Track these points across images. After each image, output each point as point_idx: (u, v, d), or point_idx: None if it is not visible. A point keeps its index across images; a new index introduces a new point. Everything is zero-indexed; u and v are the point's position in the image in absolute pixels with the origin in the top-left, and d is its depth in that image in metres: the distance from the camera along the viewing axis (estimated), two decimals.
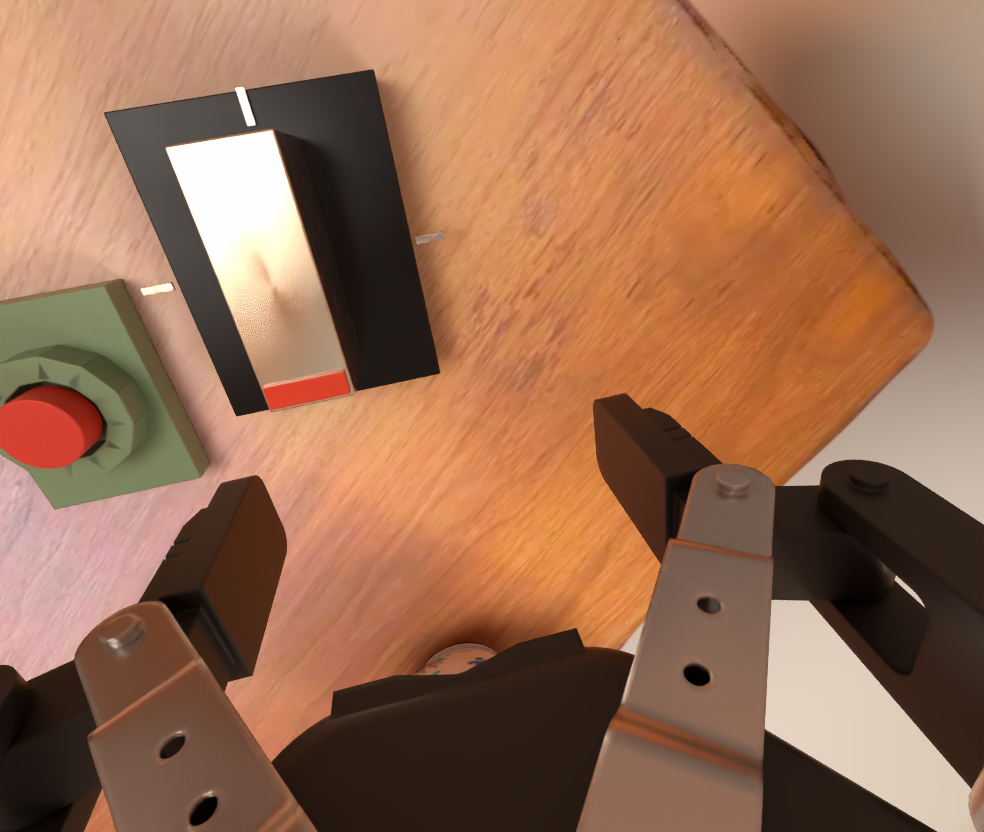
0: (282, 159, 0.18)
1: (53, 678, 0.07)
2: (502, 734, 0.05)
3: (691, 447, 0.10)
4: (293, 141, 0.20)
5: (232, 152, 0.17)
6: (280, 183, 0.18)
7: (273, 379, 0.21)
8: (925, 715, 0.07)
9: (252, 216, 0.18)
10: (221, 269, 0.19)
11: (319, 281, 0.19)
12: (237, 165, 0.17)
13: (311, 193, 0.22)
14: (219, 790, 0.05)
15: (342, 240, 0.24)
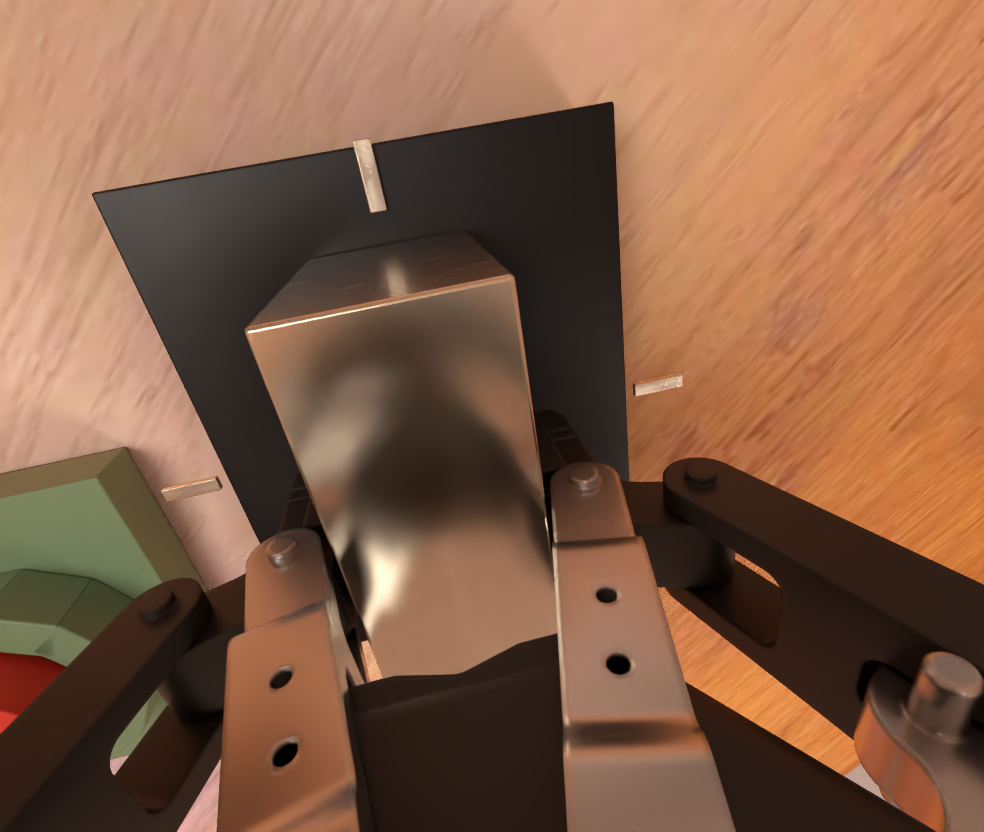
0: (522, 340, 0.07)
1: (220, 593, 0.09)
2: (502, 734, 0.05)
3: (573, 446, 0.11)
4: None
5: (410, 332, 0.07)
6: (509, 391, 0.07)
7: None
8: (793, 678, 0.07)
9: (436, 460, 0.08)
10: (354, 562, 0.08)
11: (551, 562, 0.09)
12: (418, 359, 0.07)
13: None
14: (301, 741, 0.05)
15: None
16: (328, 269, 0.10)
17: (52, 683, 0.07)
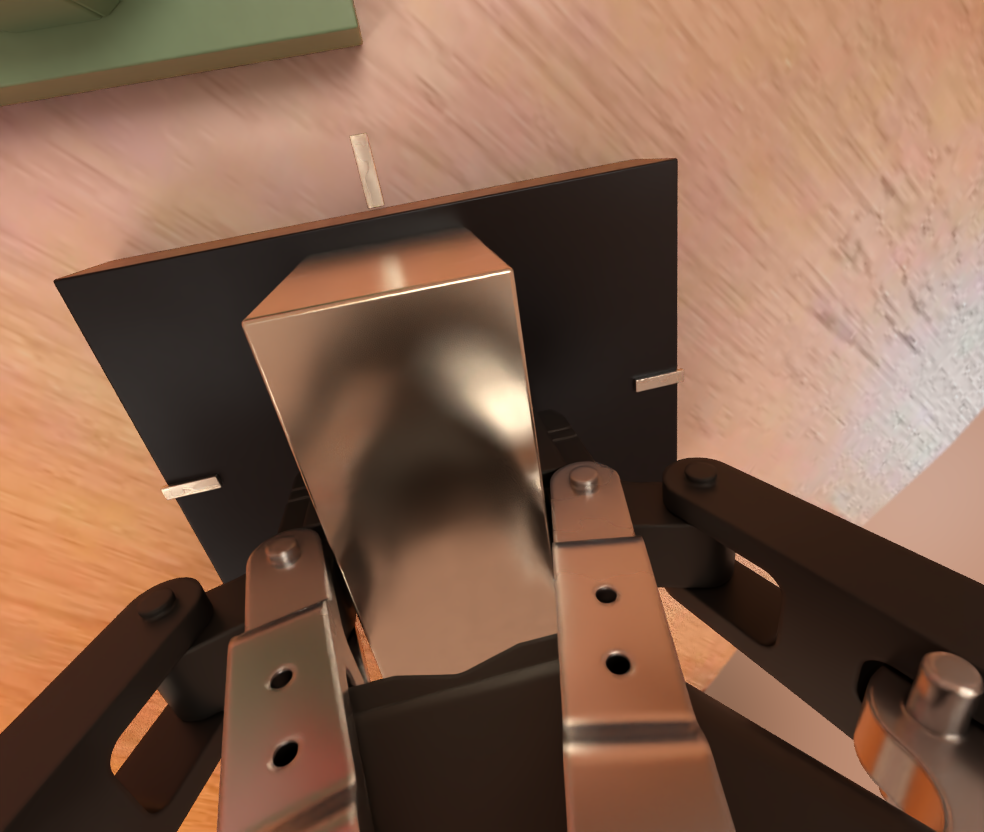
0: (521, 334, 0.07)
1: (221, 592, 0.09)
2: (502, 734, 0.05)
3: (573, 446, 0.11)
4: None
5: (408, 326, 0.07)
6: (508, 385, 0.07)
7: None
8: (793, 677, 0.07)
9: (434, 454, 0.08)
10: (352, 557, 0.08)
11: (550, 559, 0.09)
12: (416, 352, 0.07)
13: None
14: (302, 740, 0.05)
15: None
16: (327, 264, 0.10)
17: (52, 683, 0.07)
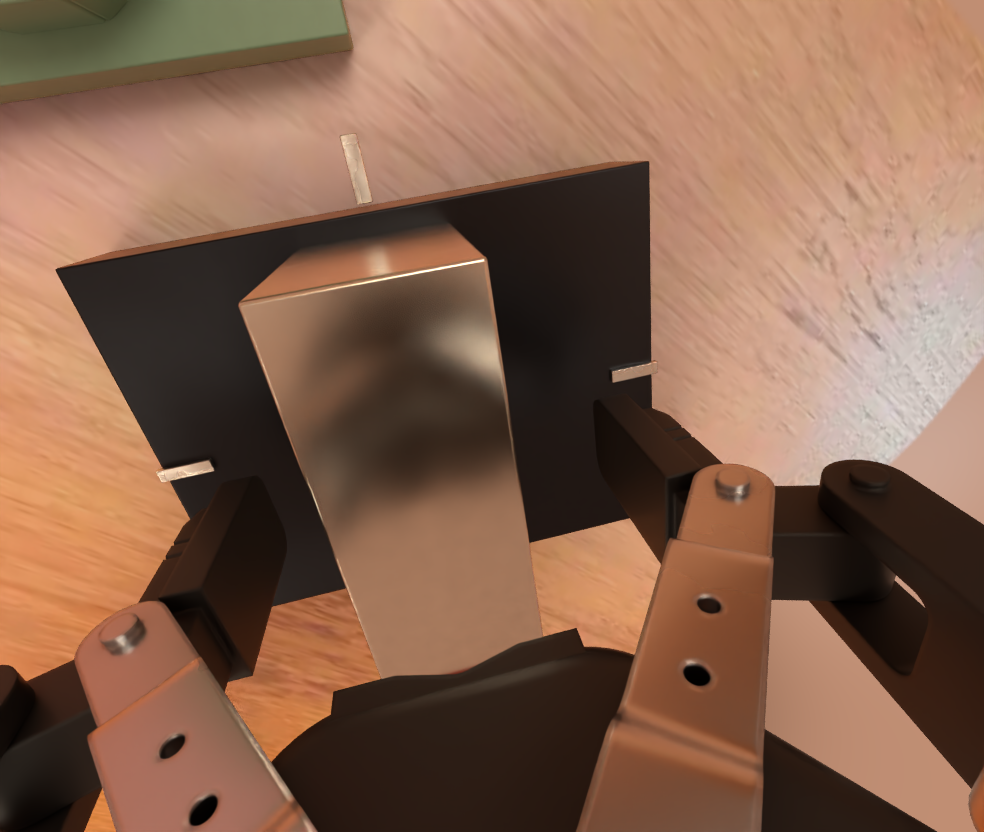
0: (495, 318, 0.08)
1: (53, 678, 0.07)
2: (502, 734, 0.05)
3: (691, 447, 0.10)
4: None
5: (391, 309, 0.07)
6: (483, 365, 0.08)
7: None
8: (925, 716, 0.07)
9: (416, 429, 0.08)
10: (339, 527, 0.09)
11: (524, 530, 0.10)
12: (398, 334, 0.08)
13: None
14: (219, 790, 0.05)
15: None
16: (317, 255, 0.10)
17: None
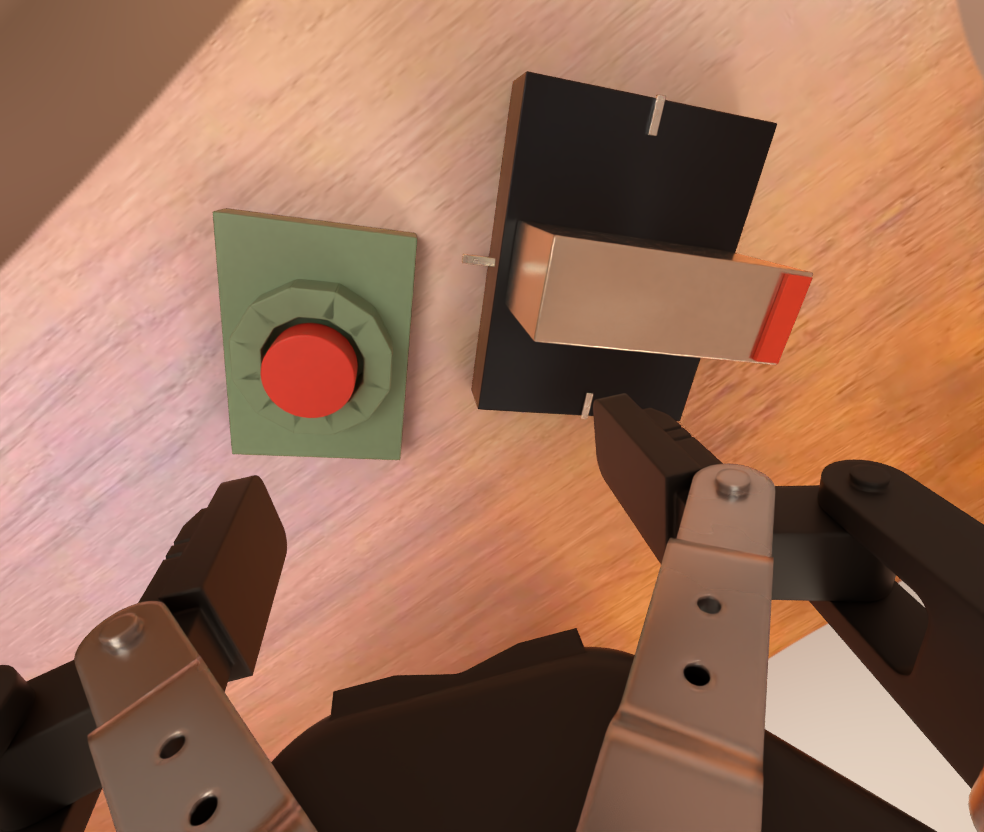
0: (581, 239, 0.17)
1: (52, 678, 0.07)
2: (502, 734, 0.05)
3: (691, 447, 0.10)
4: (536, 225, 0.19)
5: (558, 284, 0.17)
6: (599, 251, 0.17)
7: (752, 347, 0.19)
8: (925, 715, 0.07)
9: (614, 293, 0.18)
10: (642, 344, 0.19)
11: (695, 257, 0.17)
12: (569, 285, 0.17)
13: (578, 230, 0.20)
14: (219, 790, 0.05)
15: None
16: (516, 299, 0.21)
17: None
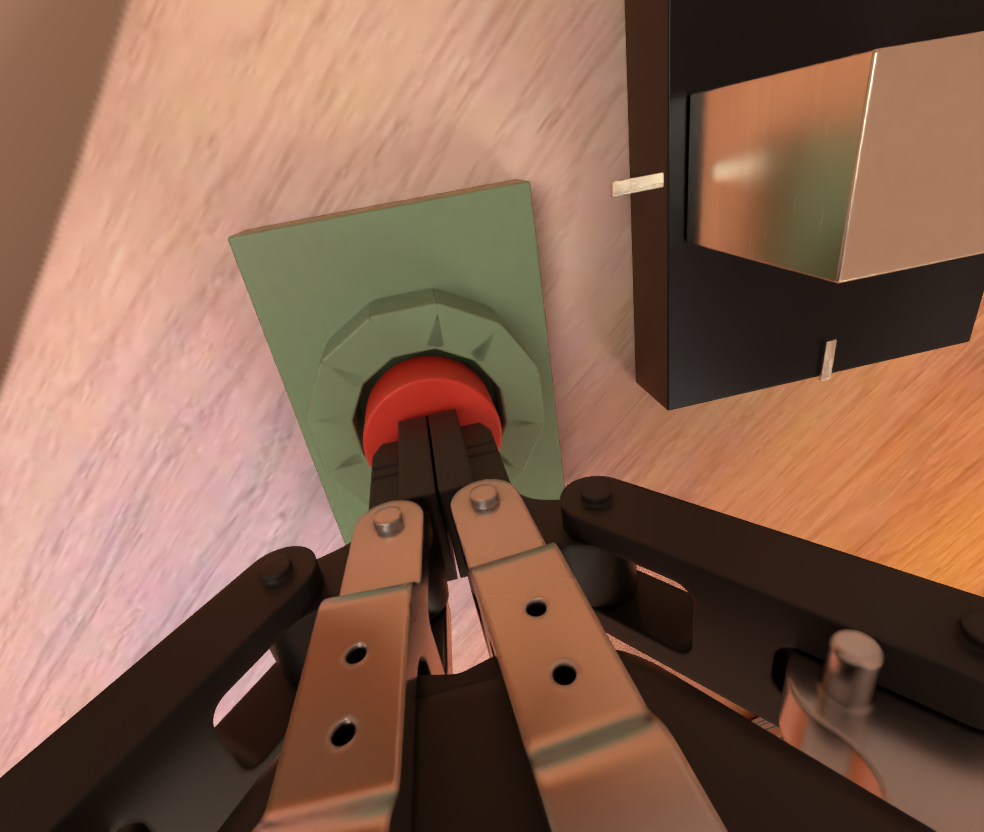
0: (930, 40, 0.08)
1: (326, 562, 0.09)
2: (502, 734, 0.05)
3: (491, 461, 0.11)
4: None
5: (884, 155, 0.08)
6: (968, 57, 0.08)
7: None
8: (712, 678, 0.08)
9: None
10: None
11: None
12: (906, 149, 0.08)
13: None
14: (360, 725, 0.05)
15: None
16: (729, 224, 0.12)
17: (181, 625, 0.07)
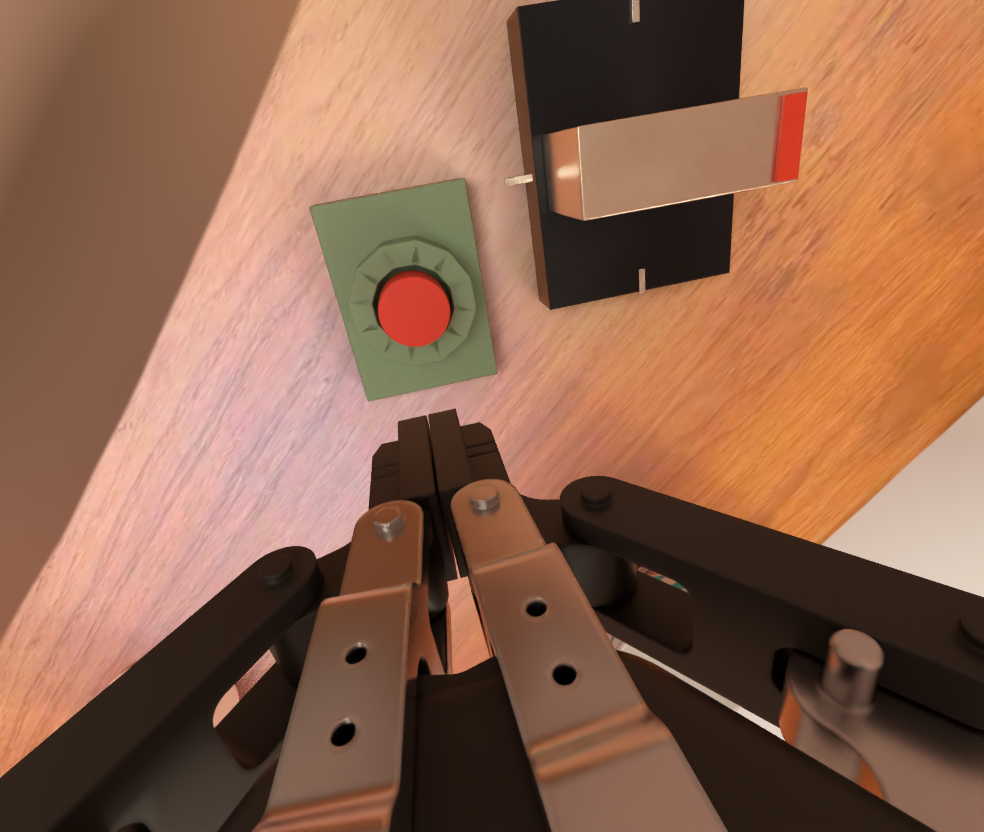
0: (599, 122, 0.20)
1: (326, 562, 0.09)
2: (502, 734, 0.05)
3: (491, 461, 0.11)
4: None
5: (591, 166, 0.21)
6: (617, 128, 0.21)
7: (770, 171, 0.22)
8: (713, 677, 0.08)
9: (638, 160, 0.21)
10: (673, 197, 0.22)
11: (698, 107, 0.21)
12: (600, 164, 0.21)
13: None
14: (360, 725, 0.05)
15: None
16: (558, 199, 0.25)
17: (181, 625, 0.07)
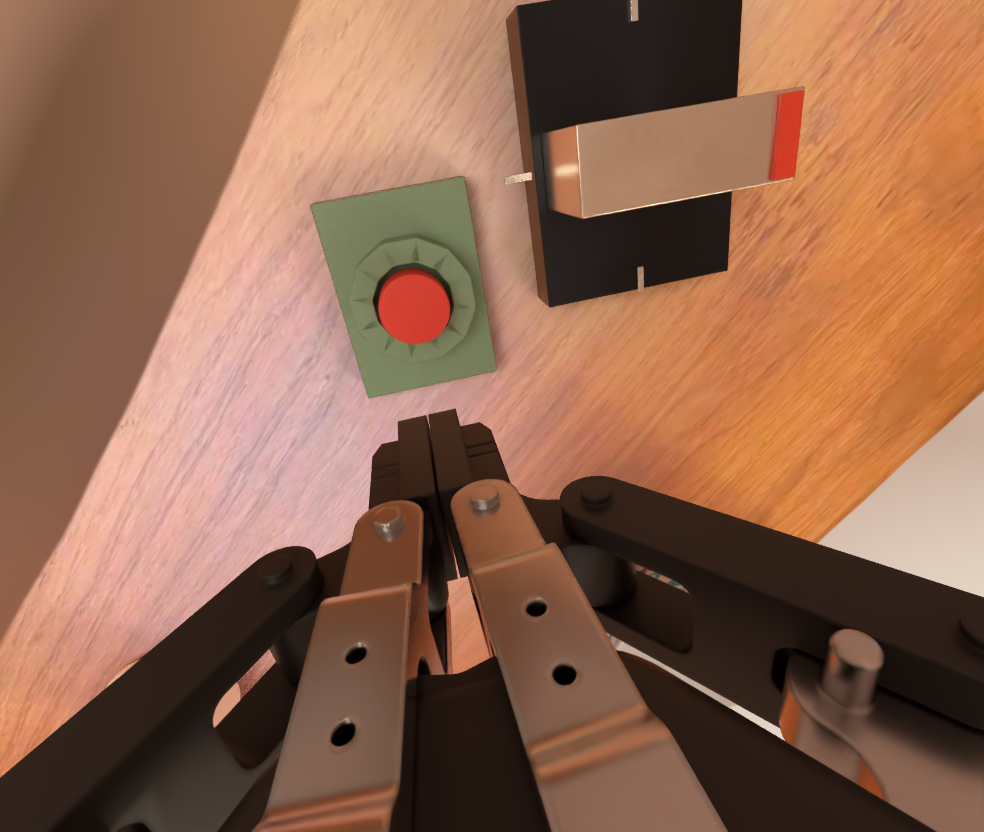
0: (598, 121, 0.21)
1: (326, 562, 0.09)
2: (502, 734, 0.05)
3: (491, 461, 0.11)
4: None
5: (589, 165, 0.21)
6: (615, 127, 0.21)
7: (767, 169, 0.22)
8: (712, 678, 0.08)
9: (636, 158, 0.21)
10: (671, 195, 0.22)
11: (696, 105, 0.21)
12: (598, 162, 0.21)
13: None
14: (360, 725, 0.05)
15: None
16: (557, 197, 0.25)
17: (181, 625, 0.07)
